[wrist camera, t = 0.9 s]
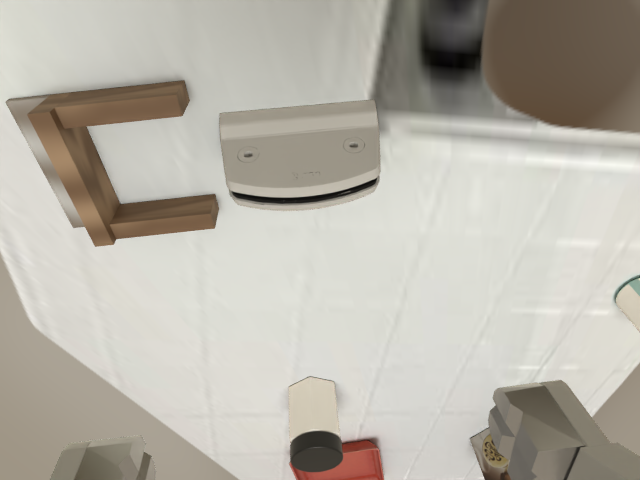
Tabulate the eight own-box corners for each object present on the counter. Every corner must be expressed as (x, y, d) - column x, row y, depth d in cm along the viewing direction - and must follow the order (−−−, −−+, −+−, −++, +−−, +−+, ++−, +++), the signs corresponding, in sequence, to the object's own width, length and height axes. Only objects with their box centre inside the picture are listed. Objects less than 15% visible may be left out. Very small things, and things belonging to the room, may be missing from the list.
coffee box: (487, 446, 93) (520, 532, 80) (468, 438, 90) (499, 525, 77) (523, 426, 89) (563, 514, 76) (504, 417, 86) (543, 507, 73)
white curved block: (378, 99, 45) (395, 172, 39) (374, 133, 49) (390, 204, 43) (215, 113, 44) (211, 189, 39) (226, 146, 48) (223, 219, 43)
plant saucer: (382, 472, 98) (385, 487, 95) (304, 484, 99) (305, 499, 96) (376, 432, 87) (379, 448, 84) (287, 445, 87) (288, 462, 85)
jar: (279, 399, 76) (279, 469, 67) (297, 372, 72) (300, 443, 63) (325, 408, 79) (331, 476, 70) (345, 383, 75) (355, 452, 65)
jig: (9, 99, 42) (-19, 119, 38) (184, 80, 42) (174, 98, 38) (75, 223, 51) (58, 250, 47) (218, 208, 51) (213, 233, 47)
